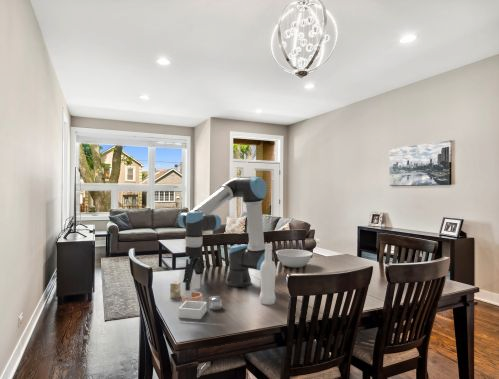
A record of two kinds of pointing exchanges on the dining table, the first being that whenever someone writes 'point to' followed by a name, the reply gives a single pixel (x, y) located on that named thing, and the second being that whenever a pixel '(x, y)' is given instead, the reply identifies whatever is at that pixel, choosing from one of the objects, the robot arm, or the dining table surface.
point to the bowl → (294, 257)
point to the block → (175, 290)
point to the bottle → (268, 277)
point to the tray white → (192, 309)
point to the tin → (215, 302)
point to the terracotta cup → (193, 297)
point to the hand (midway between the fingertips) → (192, 292)
